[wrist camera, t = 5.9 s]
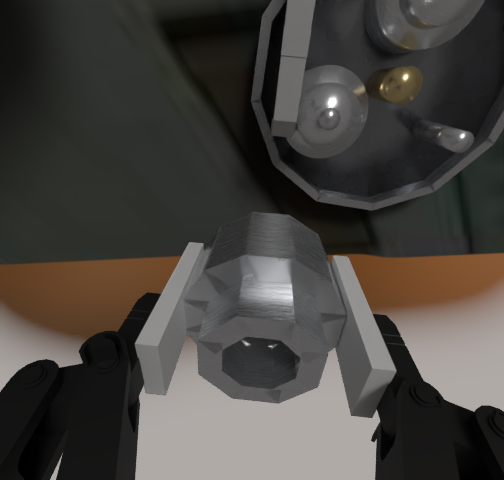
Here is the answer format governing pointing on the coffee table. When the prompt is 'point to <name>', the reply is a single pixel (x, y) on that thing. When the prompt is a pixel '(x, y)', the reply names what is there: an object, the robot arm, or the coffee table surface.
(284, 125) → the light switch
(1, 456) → the robot arm
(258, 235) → the grey nut
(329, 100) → the carrier
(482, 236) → the coffee table surface
